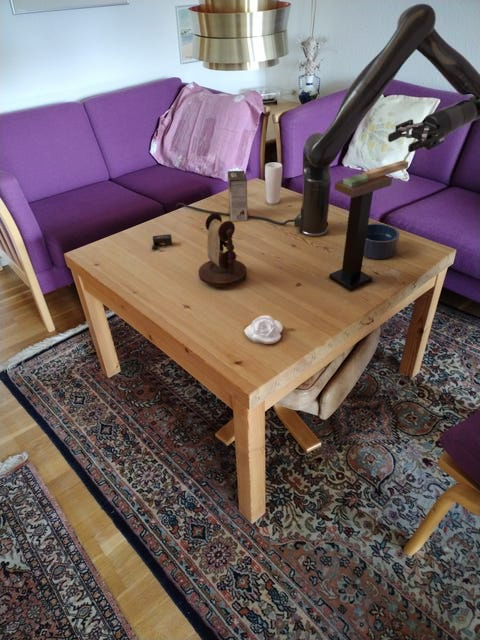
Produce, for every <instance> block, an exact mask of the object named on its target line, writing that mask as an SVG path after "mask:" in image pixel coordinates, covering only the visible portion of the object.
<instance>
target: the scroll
mask: <svg viewBox="0 0 480 640" xmlns="http://www.w3.org/2000/svg"><path fill="white" fill-rule="evenodd" d="M205 228H206V231H207V258H208V261H206V262H203V264H201V265H200V267H199V268H198V277H199V280H201V282H202V283H205V284H207V285H209V286H214V287H216V288H217V290H220V289H221V287H229V286H233V285H237V284H239V283H241V282H242V281H243V280H245V279H246V277H247V271H248V269H247V266H246V264H244V263H243V262H241V261H240V260H238V259H237V253H236V252H235V251H234V250H235V246H234V244H233V243H234V241H233V237H234V236H233V235H234V233H235V230H236V226H235V223H234V221H231V220H226V221H223V218H222V215H219V214H218V213H213V214H212V213H210V214H209V215H208V216H207V218H206V220H205ZM225 248H226V251H224V249H225Z"/></svg>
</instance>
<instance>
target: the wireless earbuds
mask: <svg viewBox="0 0 480 640" xmlns="http://www.w3.org/2000/svg"><path fill="white" fill-rule="evenodd" d="M152 243H153V245H152V247H151V250H152V251H154V250H157V249H159V248H161V247H162V248H163V247H164V248H165V247H171V246H173V238H172V234H168V233H167V234H160V235H153V236H152Z"/></svg>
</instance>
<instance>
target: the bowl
mask: <svg viewBox="0 0 480 640" xmlns="http://www.w3.org/2000/svg"><path fill="white" fill-rule="evenodd" d="M399 239H400V232H399V230H398V229H397V228H395V227H393V226H390V225H388V224H383V223H368V229H367V235H366V242H365V249H364V255H363V257H365V258H368V259H373V260H384V259H385V260H386V259H389V258H391V257H394V256H395V254H396V253H397V251H398V245H399Z"/></svg>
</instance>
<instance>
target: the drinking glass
mask: <svg viewBox="0 0 480 640" xmlns="http://www.w3.org/2000/svg"><path fill="white" fill-rule="evenodd" d="M264 181H265V182H264V183H265V184H264V185H265V196H266V197H265V199H266V200H265V201H266V203H267V204H270V205H276V204H279V203H280V200H281V198H280V197H281V190H282V182H283V164H282V163H280V162H268V163H265V165H264Z"/></svg>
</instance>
